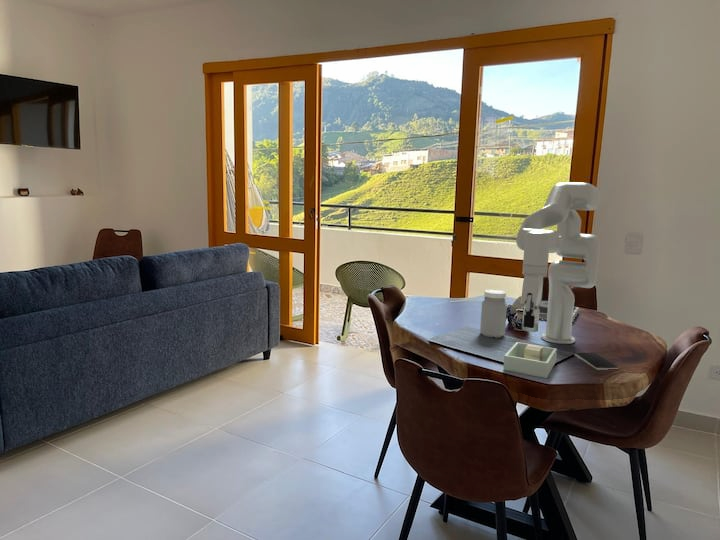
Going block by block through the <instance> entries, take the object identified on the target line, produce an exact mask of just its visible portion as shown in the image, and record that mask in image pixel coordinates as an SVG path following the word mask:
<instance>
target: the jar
mask: <svg viewBox="0 0 720 540" xmlns="http://www.w3.org/2000/svg"><path fill="white" fill-rule="evenodd" d="M483 294H484V295H483V296H484V297H483V299H484V300H483V301H482V302H481V309H480V310H481V311H480V313H481V314H480V326H479V327H480V328H479V332H480V333H481V335H483V336H484V337H486V336H487V338H492V337H495V338H494V339H498V338H502V337H504V335H505V334H506V326H507V325H506V323H507V321H506V320H507V311H508V310H507V309H508V303H507V302H506V296H507V292H506V291H504V290H502V289H491V288H490V289H485V290H484V293H483Z"/></svg>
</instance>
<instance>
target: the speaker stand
mask: <svg viewBox="0 0 720 540" xmlns="http://www.w3.org/2000/svg"><path fill="white" fill-rule="evenodd" d="M579 308H580V307H578V306H574V310H573V320H572V322H573V323H574V322H575V320H574V319H576V318H577V316H578V315H579V310H580V309H579ZM577 314H578V315H577ZM576 315H577V316H576ZM575 317H576V318H575ZM539 319H543V320H542V321H545V320H547V314H545V313H539Z"/></svg>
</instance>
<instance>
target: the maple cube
mask: <svg viewBox="0 0 720 540" xmlns="http://www.w3.org/2000/svg"><path fill="white" fill-rule="evenodd" d="M533 345H534V344H532V345H527V346H526V347H525V349H524V358H525V359H531V360H537V361H542V352H543V347H539V346H540V345H538V346H533Z"/></svg>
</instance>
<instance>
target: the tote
mask: <svg viewBox="0 0 720 540" xmlns="http://www.w3.org/2000/svg"><path fill="white" fill-rule="evenodd" d="M527 345H533V346H539V347H543V352H542V361H537V360H531V359H525V358H524V349H525V347H526V346H527ZM557 353H558V349H557V348H555V347H550V346H543V345H537V344H532V343H525V342H520V341H519V342H518V341H517V342H515V343H514V344H513V346H512V347H510V348H509V350H508V351H507V352H506V353H505V354H504V357H503V371H507V372H511V373H516V374H521V375H527V376H533V377H538V378H543V379H548V377H549V375H550V373H551V371H552V370H553V368H554V366H555V364H556V362H557Z"/></svg>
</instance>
